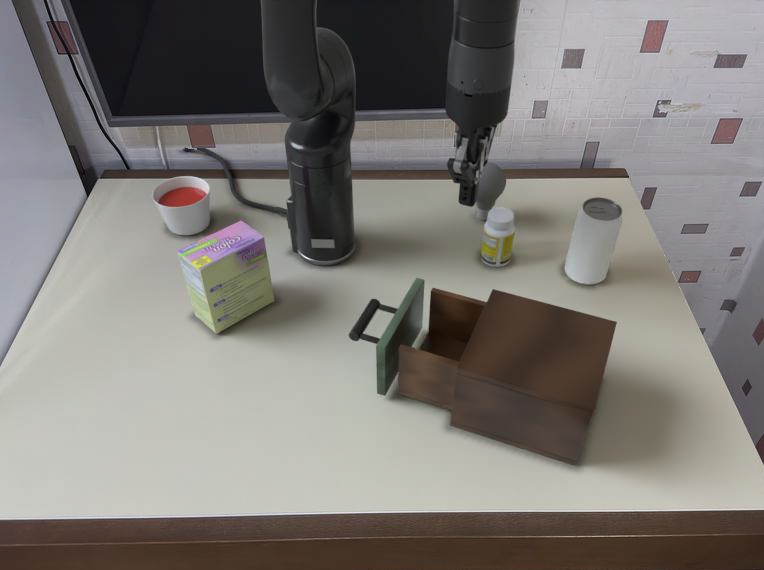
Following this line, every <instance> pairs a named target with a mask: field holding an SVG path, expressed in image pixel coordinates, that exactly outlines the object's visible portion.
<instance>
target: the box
mask: <svg viewBox="0 0 764 570" xmlns="http://www.w3.org/2000/svg"><path fill="white" fill-rule="evenodd" d="M176 252H177V256H178V259H179V263H180V266H181V270H182V274H183V277H184V281H185V284H186V288H187V291H188V295H189V298H190V302H191V305H192V309H193V312H194V315H195V316H196V317H197V318H198V319H199V320H200V321H201V322H202V323H203V324H204V325H205V326H207V327H208V328H209V329H210V330H211V331H212V332H213V333H214V334H216V335H218V334H219V333H221V332H222V331H225V330H226V329H227V328H229V327H231V326H233V325H235V324H236V323H238V322H240V321H242V320H243V319H245V318H247V317H248V316H250V315H252V314H254V313H256V312H257V311H260V310H261V309H263V308H264V307H266V306H268V305H270V304H273V303H274V302H275V300H276V299H275V295H274V288H273V283H272V277H271V276H272V275H271V271H270V264H269V259H268V253H267V247H266V242H265V236H264V235H263V234H261V233H260V232H258V231H257V230H256V229H254V228H253V227H252V226H250V225H248V224H247V223H246V222H244V221H243V220H239V221H237V222H235V223H233V224H231V225H229V226H226V227H224V228H222V229H220V230H218V231H216V232H214V233H211V234H209V235H208V236H206V237H204V238H201V239H199V240H197V241H195V242H193V243H191V244H188V245H187V246H185V247H182V248H180V249H177V250H176Z"/></svg>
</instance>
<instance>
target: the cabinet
mask: <svg viewBox="0 0 764 570" xmlns="http://www.w3.org/2000/svg"><path fill="white" fill-rule="evenodd" d="M486 302H487V303H486V305H485V307H484V309H483V311H482V314H481V316H480V318H479V320H478V322H477V324H476V327H475V329H474V331H473V333H472V335H471V337H470V340H469V342H468V344H467V346H466V348H465V350H464V353H463V355H462V357H461V359H460V361H459V363H458V366H457V368H456V376H455V385H454V394H453V404H452V410H451V413H450V414H451V415H450V423H449V426H450V427H453V428H456V429H459V430H463V431H465V432H469V433H471V434H475V435H479V436H481V437H484V438H487V439H490V440H494V441H496V442H499V443H504V444H506V445H509V446H512V447H514V448H519V449H521V450H525V451H528V452H531V453H534V454H538V455H541V456H544V457H546V458H550V459H552V460H556V461H559V462H562V463H565V464H569V465H571V466H574V467H575V466H576V464H577V461H578V458H579V455H580V452H581V450H582V447H583V444H584V441H585V438H586V435H587V432H588V430H589V427H590V424H591V420H592V419H593V416H594V413H595V410H596V406H597V403H598V398H599V395H600V391H601V387H602V383H603V379H604V375H605V371H606V367H607V363H608V360H609V355H610V351H611V347H612V344H613V339H614V336H615V331H616V327H617V323H618V322H617V321H616V320H612V319H608V318H604V317H600V316H597V315H594V314H593V315H592V314H589V313H585V312H581V311H577V310H574V309H570V308H566V307H563V306H559V305H555V304H551V303H547V302H544V301H539V300H537V299H533V298H528V297H525V296H521V295H517V294H513V293H510V292H506V291H502V290H499V289H495V288H493V289H492V290H491V292H490V294H489V297H488V298H487V301H486Z"/></svg>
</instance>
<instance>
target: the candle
mask: <svg viewBox="0 0 764 570" xmlns="http://www.w3.org/2000/svg"><path fill="white" fill-rule="evenodd" d="M151 198H152V201H153V202H154V204H155V206H156V208H157V210H158V211H159V213H160V215H161V218H162V219H163V222H164V223H165V225H166V227H167V229H168V230H169V231H170V232H171V233H173V234H175V235H179V236H193V235H197V234H199V233H202V232H203V231H204V230H206V229H207V228H208V226H209V225H210V223H211V189H210V185H209V183H208V182H207V181H206V180H204V179H203V178H200V177H197V176H191V175H183V176H176V177H172V178H168V179H166V180H164V181H162V182H160V183H159V184H157V185H156V186H155V187H154V188H153V189H152V193H151Z"/></svg>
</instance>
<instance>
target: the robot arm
mask: <svg viewBox="0 0 764 570" xmlns="http://www.w3.org/2000/svg"><path fill="white" fill-rule="evenodd" d="M317 3H318V0H260V11H261V37H262V38H261V39H262V61H263V62H262V64H263V65H262V66H263V75H264V76H263V77H264V81H265V86H266V90H267V92H268V95H269V97H270V99H271V101H272V103H273V105H274V106H275V107H276V109H277V110H278V111H279V112H280V113H281V114H282V115H283V116H284V117H286V118H288V119H289V120H291V121H290V124H289V126H288V128H287V129H286V132H285V135H284V148H285V156H286V157H285V158H286V164H287V171H288V173H287V174H288V179H289V180H288V181H289V189H290V196H289V197H288V198H287V200H286V208H283V207H280V206H272V205H268V204H262V203H260V202H259V203H258V202H255V201H252V200H249V199H246V198H245V197H243V196H242V195H241V194H239V192H238V191H237V189H236V185H235V181H234V177H233V176H232V173H231V171H230V168H229V165H228V163H227V162H226V160H225V158H223V157H222V156H220V155H219V154H218V153H216V152H214V151H213V150H210V149H209V148H206V147H204V148H197V150H196V151H200V152H202V153H203V154H204V153H205V154H207V155H208V156H209V157H212V158H213V159H215V160H216V161H218V162H219V163H220V164H221V166H222V168H223V171H224V173H225V176H226V178H227V180H228V184H229V188H230V192H231V194H232V195H233V197H234V198H235V199H236V200H237V201H238V202H240V203H242V204H244V205H246V206H249V207H252V208H255V209H259V210H263V211H267V212H272V213H277V214H278V213H279V214H283V215H286V222H287V229H288V230H289V234H290V241H291V248H292V252H293V253H296V254H298V256H299V257H300V258H301V259H302V260H303V261H305V262H307V263H309V264H312V265H316V266H333V265H337V264H341V263H343V262H345V261H347V260H348V259H350V258H351V257H352V256H353V254H354V253H355V251H356V235H355V217H354V216H355V215H354V213H355V212H354V194H353V193H354V191H353V171H352V155H351V154H352V151H351V150H352V149H351V143H352V138H353V136H354V131H355V128H356V93H357V91H356V90H357V89H356V72H355V71H356V70H355V64H354V60H353V56H352V53H351V51H350V49H349V47H348V45H347V44H346V42H345V41H344V40H343V39H342V37H340V35H338V34H337V33H336V32H335V31H333V30H331V29H329V28H325V27H320V26H319V27H317ZM519 9H520V0H453V12H452V14H453V15H452V27H451V40H450V45H449V49H448V58H447V70H446V71H447V73H446V88H445V91H446V92H445V106H444V108H445V109H444V110H445V114H446V117H448V118H449V120H451V121H453V123H454V124H455V125H456V126H457V127H458V129H456V130H455V132H454V135H453V145H454V146H455V151H454V157H449V158H448V160H447V162H446V166H447V167H446V168H447V170H448V172H449V174H450V177H451V179H452V182H453V183H454V184H459V190H458V203H459V205H461V206H466V207H470V208H472V207H474V206H475V205H476V201H477V199H478V189H479V180H480V177H481V175H482V174H483V166H486V164H487V163H489V162H488V160H489V156H490V152H491V149H492V145H493V141H494V137H495V134H496V130H497V128H498V125H499V124H501V123H502V122H503V121H505V119H506V118H507V116H508V113H509V105H510V98H511V89H512V83H513V74H514V66H515V57H516V56H515V55H516V54H515V53H516V52H515V50H516V49H515V47H516V46H515V43H516V34H517V33H516V32H517V25H518V19H519ZM192 150H193V151H195V150H194V149H188V148H186V146H185V147H184V148H183V149H182V151H183V152H184V153H187V152H189V151H192Z"/></svg>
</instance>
